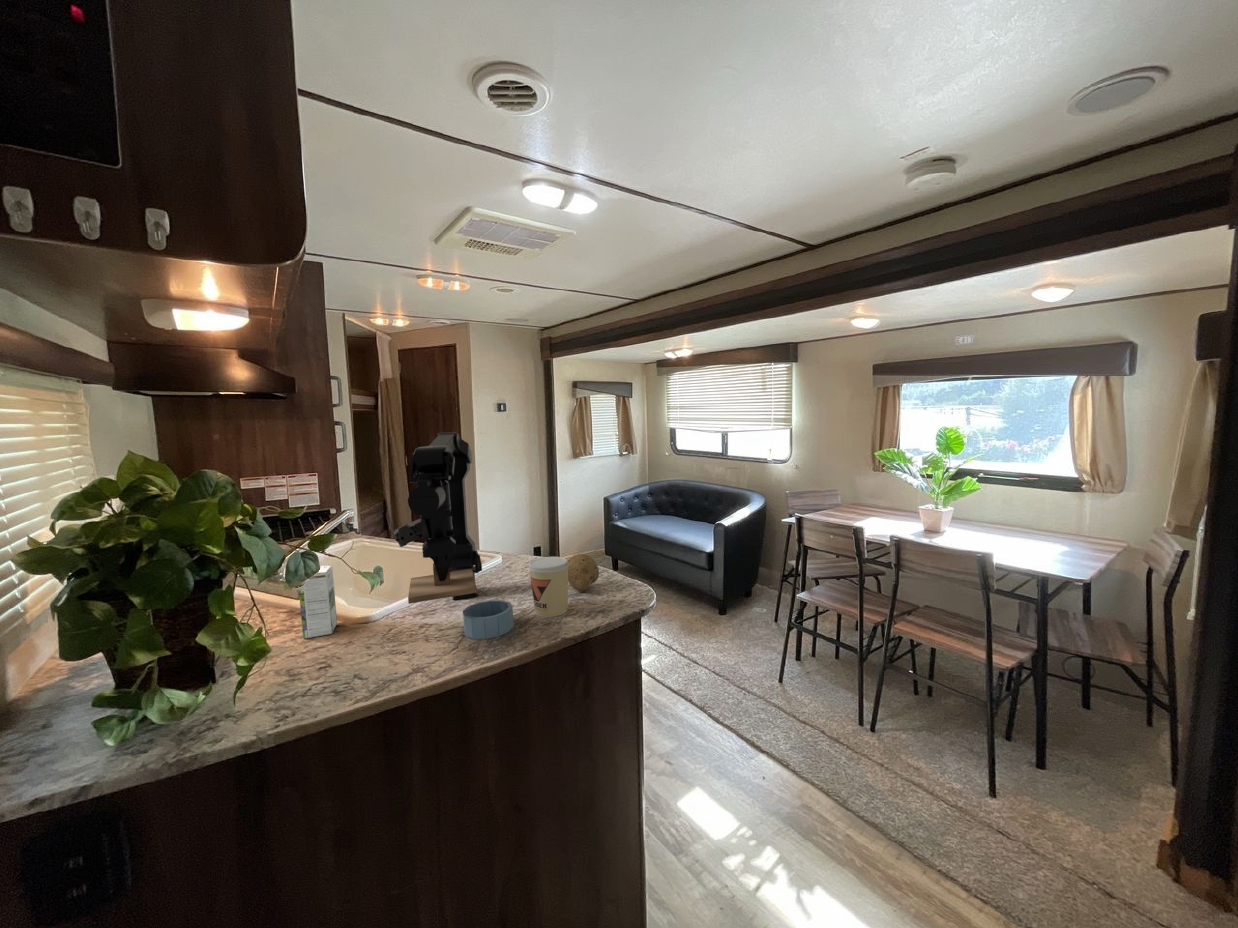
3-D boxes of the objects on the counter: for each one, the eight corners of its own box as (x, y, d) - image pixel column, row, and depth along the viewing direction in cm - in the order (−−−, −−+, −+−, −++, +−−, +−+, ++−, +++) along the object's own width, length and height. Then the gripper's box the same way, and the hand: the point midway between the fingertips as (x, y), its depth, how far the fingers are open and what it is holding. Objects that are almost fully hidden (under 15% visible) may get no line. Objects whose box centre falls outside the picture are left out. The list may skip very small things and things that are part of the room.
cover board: (411, 583, 106) (409, 560, 106) (472, 574, 111) (470, 552, 110) (408, 603, 94) (406, 578, 94) (477, 592, 99) (475, 567, 98)
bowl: (462, 624, 109) (461, 605, 109) (508, 615, 113) (507, 596, 113) (467, 643, 100) (465, 622, 99) (517, 632, 104) (515, 612, 103)
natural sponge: (585, 582, 134) (583, 547, 133) (607, 589, 127) (605, 553, 126) (559, 591, 128) (557, 554, 127) (580, 599, 121) (578, 561, 120)
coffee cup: (524, 611, 115) (521, 562, 114) (556, 600, 121) (553, 553, 120) (545, 622, 108) (542, 570, 107) (578, 609, 114) (576, 561, 113)
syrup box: (309, 629, 110) (302, 568, 109) (338, 624, 112) (332, 564, 111) (302, 639, 105) (295, 575, 104) (333, 634, 107) (327, 571, 106)
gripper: (397, 503, 107) (403, 571, 108) (390, 519, 89) (398, 599, 91) (450, 498, 111) (455, 564, 112) (453, 512, 93) (459, 589, 95)
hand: (442, 578), depth 102 cm, fingers closed on cover board, 3 cm apart
